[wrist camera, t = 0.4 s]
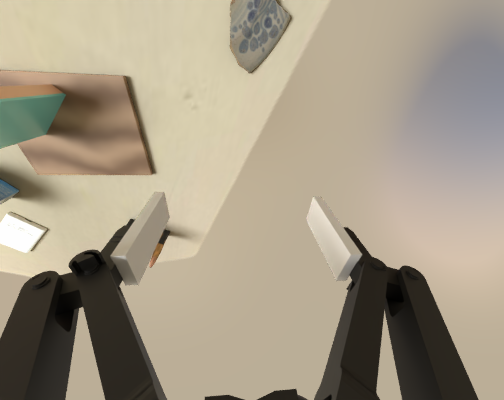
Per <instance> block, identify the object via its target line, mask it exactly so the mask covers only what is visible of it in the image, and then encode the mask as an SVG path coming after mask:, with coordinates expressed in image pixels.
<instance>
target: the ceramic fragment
mask: <svg viewBox="0 0 504 400" xmlns="http://www.w3.org/2000/svg"><path fill="white" fill-rule="evenodd" d="M230 11H231V13H230V17H231V25H230V49H231V50H232V53H233V54H234V56H235V58H236V59H237V62H238V65H239V66H241V67H242V68H244V69H245V70H246V71H248V73H250V72H252V71H253V70H254V69H255V68H256V67H258V66H259V65H260V64H261V63H262V62H263V61H264V59H265V58H266V57H267V56H268V55H269V54H270V52H271V51H272V50H273V48H274V47H275V45H276V44H277V42H278V41H279V39H280V38H281V36H282V34H283V32H284V31H285V29H286V27H287V25H288V23H289V21H290V18H291V16H290V15H289V14H288V13H287V12H286V11H284V9H283V8H282V7H281V6H280V5H279V4H278V3H277V1H276V0H232V2H231V5H230Z"/></svg>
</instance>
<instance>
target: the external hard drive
mask: <svg viewBox="0 0 504 400" xmlns="http://www.w3.org/2000/svg"><path fill="white" fill-rule="evenodd" d="M46 230H47V228H45V227H42V226H40V225H38V224H36V223H34V222H30V221H28V220H26V219H25V218H23V217H21V216H18V215H16V214H14V213H12V212H9V213H7V214H6V216H5V217H4V219H3V220H2V222H1V224H0V243H1V244H4V245H6V246H9V247H11V248H14V249H16V250H19V251H21V252H24V253H28V252H30V251H31V250H32V248H33V247H34V246H35V244H36V243H37V242H38V241H39V239H40V238H41V237H42V235H43V234H44V233H45V232H46Z"/></svg>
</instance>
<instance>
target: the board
mask: <svg viewBox="0 0 504 400" xmlns="http://www.w3.org/2000/svg"><path fill="white" fill-rule="evenodd" d="M47 84H52V85H53V86H55V87H56V88H57V89H59V90H60V91H61V92H63V93H64V94H65V95H66V96H65V98H64V100H63V102H62V104H61V106H60V108H59V110H58V112H57V114H56V116H55V118H54V120H53V122H52V123H51V125H50V127H49V129H48V131H47V133H46V135H43V136H40V137H37V138H33V139H30V140H27V141H24V142H20V143H17V144H18V146H19V147H20V149H21V150H22V152H23V153H24V155H25V156H26V158H27V159H28V161H29V162H30V164H31V165H32V167H33V168H34V170H35V171H36V173H37V174H38V175H152V174H153V172H152V168H151V164H150V161H149V157H148V154H147V150H146V147H145V143H144V140H143V136H142V133H141V129H140V126H139V122H138V118H137V115H136V111H135V108H134V104H133V101H132V97H131V94H130V90H129V87H128V83H127V80H126V76H113V75H92V74H70V73H48V72H27V71H5V70H0V86H22V85H47Z"/></svg>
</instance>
